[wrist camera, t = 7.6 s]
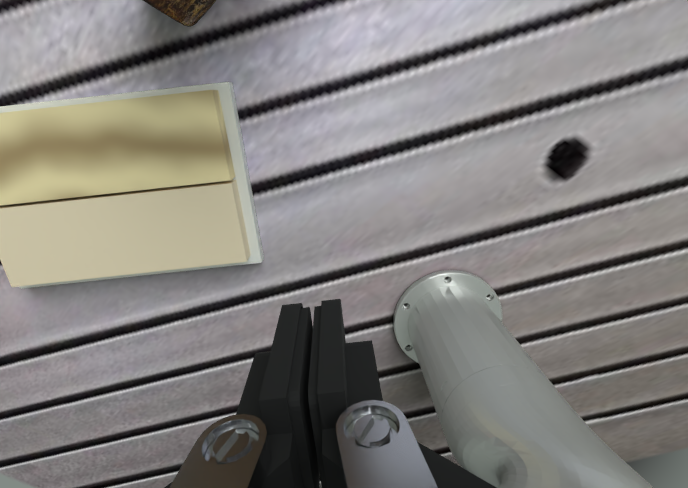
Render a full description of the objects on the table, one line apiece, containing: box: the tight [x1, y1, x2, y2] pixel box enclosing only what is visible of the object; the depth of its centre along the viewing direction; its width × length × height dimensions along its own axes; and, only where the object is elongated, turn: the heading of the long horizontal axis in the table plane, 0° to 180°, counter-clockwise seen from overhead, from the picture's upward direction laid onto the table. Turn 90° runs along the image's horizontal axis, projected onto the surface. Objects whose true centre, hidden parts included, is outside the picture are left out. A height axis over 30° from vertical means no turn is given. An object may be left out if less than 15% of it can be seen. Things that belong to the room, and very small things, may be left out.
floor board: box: [0, 82, 264, 289], centre depth 39 cm, size 18×26×4 cm
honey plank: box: [0, 90, 235, 205], centre depth 37 cm, size 8×24×2 cm, turn 96°
